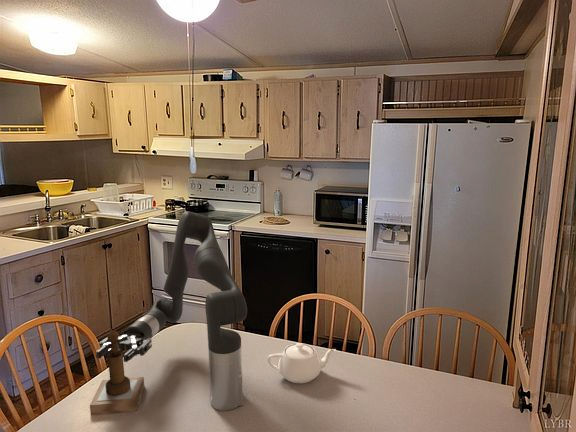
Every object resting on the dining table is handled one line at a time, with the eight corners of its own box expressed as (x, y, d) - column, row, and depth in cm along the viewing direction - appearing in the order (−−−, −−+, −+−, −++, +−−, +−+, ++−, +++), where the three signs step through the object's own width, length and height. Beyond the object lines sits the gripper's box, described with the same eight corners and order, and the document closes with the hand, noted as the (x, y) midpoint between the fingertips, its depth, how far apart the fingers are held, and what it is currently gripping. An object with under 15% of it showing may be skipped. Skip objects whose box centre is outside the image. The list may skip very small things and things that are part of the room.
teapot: (268, 389, 126) (267, 356, 124) (267, 364, 140) (266, 335, 138) (339, 386, 128) (340, 354, 126) (331, 362, 141) (332, 333, 139)
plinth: (144, 385, 128) (143, 376, 127) (136, 410, 116) (135, 400, 116) (103, 389, 126) (102, 379, 125) (90, 415, 114) (89, 404, 114)
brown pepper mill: (134, 383, 123) (129, 327, 120) (123, 396, 117) (118, 338, 114) (113, 382, 124) (107, 326, 121) (101, 395, 118) (95, 337, 114)
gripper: (121, 318, 133) (87, 342, 117) (162, 322, 130) (133, 347, 114) (122, 339, 134) (89, 366, 119) (163, 344, 131) (134, 372, 116)
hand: (111, 357), depth 116 cm, fingers open, 8 cm apart
